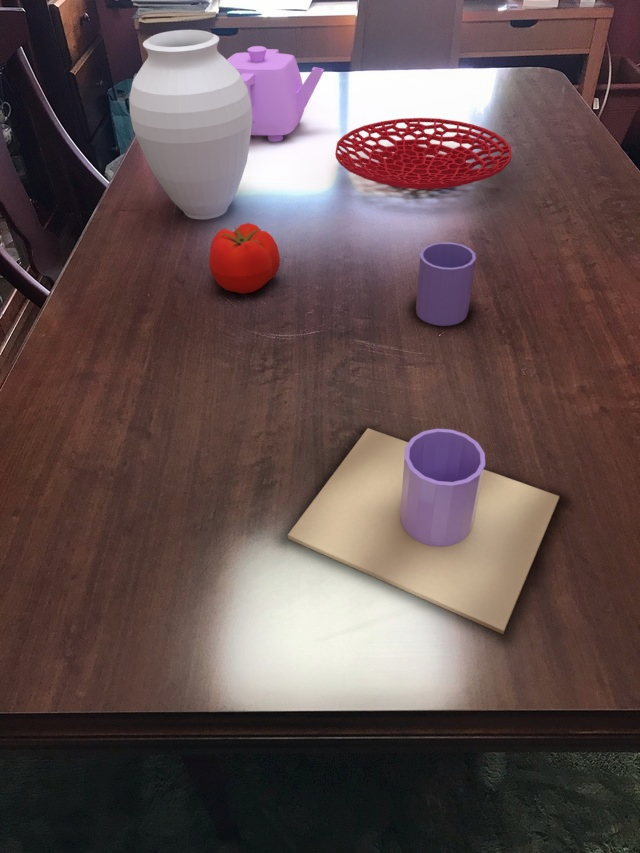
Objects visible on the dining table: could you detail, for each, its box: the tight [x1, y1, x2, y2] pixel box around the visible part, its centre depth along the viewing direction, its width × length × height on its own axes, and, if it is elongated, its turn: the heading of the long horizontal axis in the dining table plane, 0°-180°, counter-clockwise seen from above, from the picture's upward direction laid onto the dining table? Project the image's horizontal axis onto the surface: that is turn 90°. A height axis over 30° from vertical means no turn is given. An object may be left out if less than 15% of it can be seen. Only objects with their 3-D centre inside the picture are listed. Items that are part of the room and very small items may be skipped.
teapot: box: [226, 45, 325, 143], centre depth 132 cm, size 19×18×15 cm
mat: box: [287, 427, 560, 635], centre depth 63 cm, size 20×16×1 cm
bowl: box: [334, 117, 513, 190], centre depth 117 cm, size 29×30×5 cm
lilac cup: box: [415, 241, 477, 327], centre depth 86 cm, size 7×7×8 cm
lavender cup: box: [400, 428, 486, 547], centre depth 60 cm, size 7×7×8 cm
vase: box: [128, 29, 252, 220], centre depth 103 cm, size 18×18×25 cm
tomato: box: [208, 222, 281, 295], centre depth 92 cm, size 9×9×8 cm
